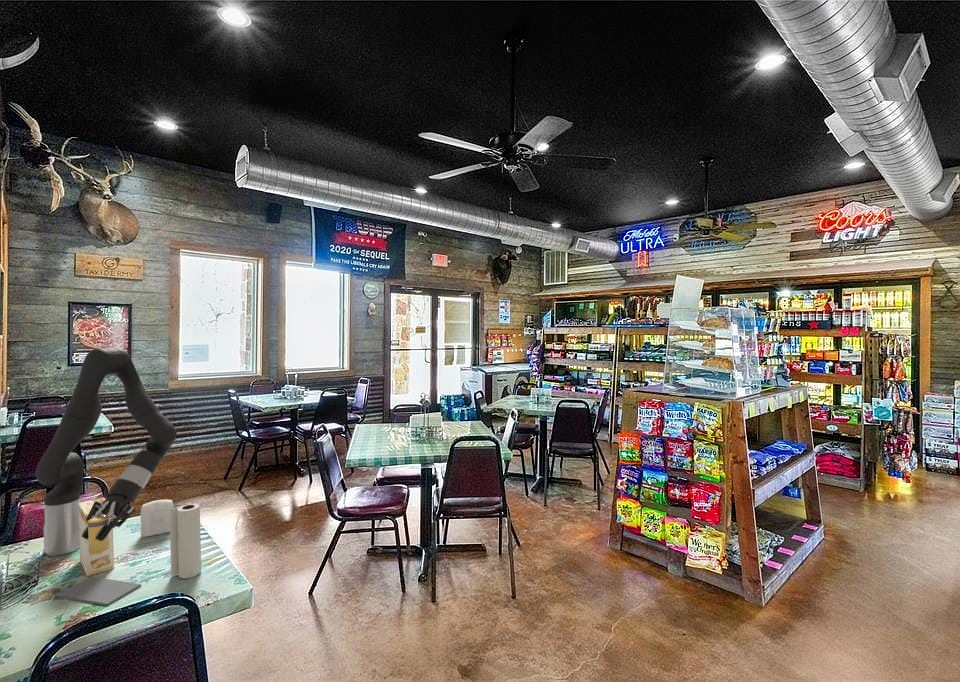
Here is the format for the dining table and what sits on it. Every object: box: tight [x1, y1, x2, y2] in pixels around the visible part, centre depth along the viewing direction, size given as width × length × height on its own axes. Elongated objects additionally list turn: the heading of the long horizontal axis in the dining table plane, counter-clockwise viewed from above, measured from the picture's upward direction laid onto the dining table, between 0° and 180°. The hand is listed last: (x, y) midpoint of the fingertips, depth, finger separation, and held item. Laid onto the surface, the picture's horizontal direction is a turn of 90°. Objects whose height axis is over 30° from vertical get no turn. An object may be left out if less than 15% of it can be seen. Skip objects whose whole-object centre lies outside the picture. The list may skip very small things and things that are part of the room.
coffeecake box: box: [78, 497, 115, 577], centre depth 152 cm, size 15×7×20 cm, turn 47°
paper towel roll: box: [169, 503, 202, 580], centre depth 146 cm, size 7×6×21 cm
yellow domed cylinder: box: [88, 516, 109, 554], centre depth 136 cm, size 5×5×9 cm
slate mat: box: [54, 575, 142, 607], centre depth 136 cm, size 19×10×1 cm, turn 77°
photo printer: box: [140, 499, 175, 538], centre depth 174 cm, size 10×4×12 cm, turn 123°
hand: (91, 538), depth 134 cm, fingers closed on yellow domed cylinder, 4 cm apart
